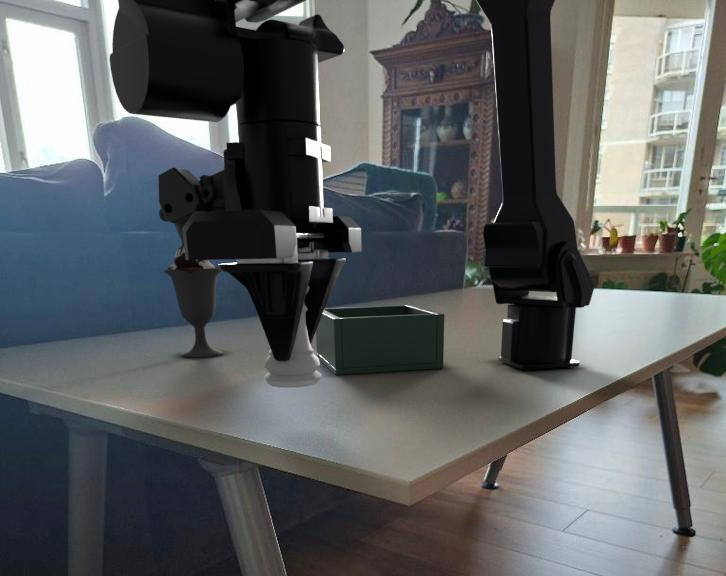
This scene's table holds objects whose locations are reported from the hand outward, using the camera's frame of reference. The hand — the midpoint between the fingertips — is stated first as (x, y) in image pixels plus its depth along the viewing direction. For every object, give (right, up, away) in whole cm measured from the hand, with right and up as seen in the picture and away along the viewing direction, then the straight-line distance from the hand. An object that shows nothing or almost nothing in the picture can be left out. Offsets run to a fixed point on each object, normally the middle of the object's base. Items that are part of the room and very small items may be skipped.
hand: (292, 356), depth 51 cm
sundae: (-14, +6, +31) cm, 35 cm away
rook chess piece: (0, -2, +1) cm, 2 cm away
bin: (+7, +4, +23) cm, 25 cm away
